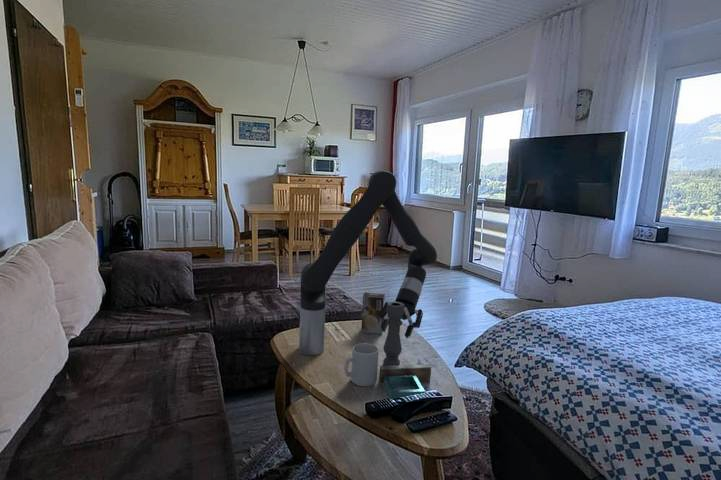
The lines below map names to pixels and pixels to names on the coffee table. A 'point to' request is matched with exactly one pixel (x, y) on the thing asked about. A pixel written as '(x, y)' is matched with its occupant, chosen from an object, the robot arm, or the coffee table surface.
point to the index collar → (400, 381)
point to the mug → (363, 364)
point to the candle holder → (393, 333)
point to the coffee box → (372, 312)
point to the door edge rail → (407, 371)
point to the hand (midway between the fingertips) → (394, 333)
